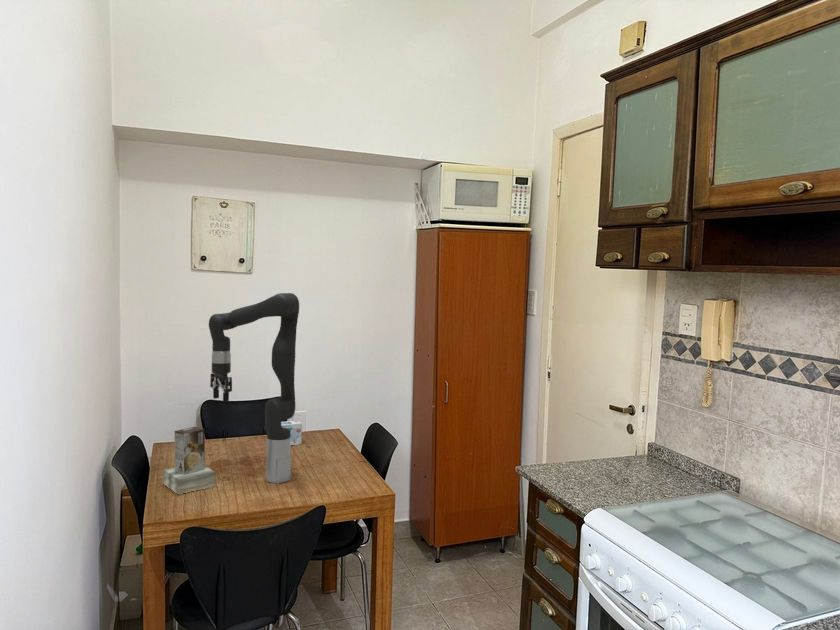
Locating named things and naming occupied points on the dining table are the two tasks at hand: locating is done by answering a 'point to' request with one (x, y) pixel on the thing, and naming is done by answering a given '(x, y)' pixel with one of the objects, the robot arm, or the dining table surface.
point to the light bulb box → (294, 431)
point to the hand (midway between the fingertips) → (220, 399)
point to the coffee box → (189, 450)
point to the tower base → (190, 487)
